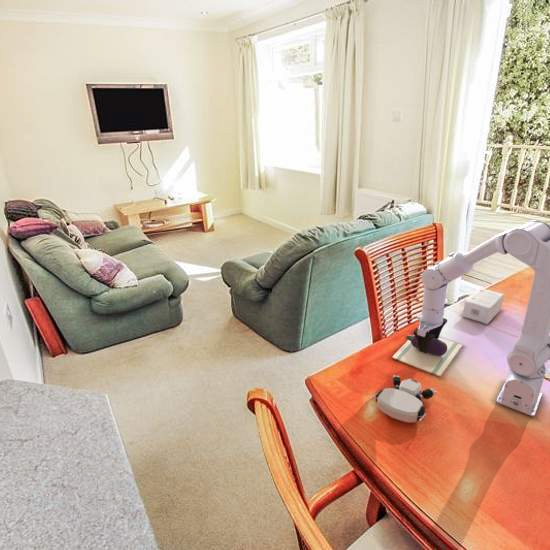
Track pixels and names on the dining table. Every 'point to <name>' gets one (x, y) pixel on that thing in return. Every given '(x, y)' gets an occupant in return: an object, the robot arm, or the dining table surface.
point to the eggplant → (431, 345)
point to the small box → (483, 305)
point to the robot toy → (403, 400)
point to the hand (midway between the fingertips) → (428, 345)
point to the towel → (427, 357)
